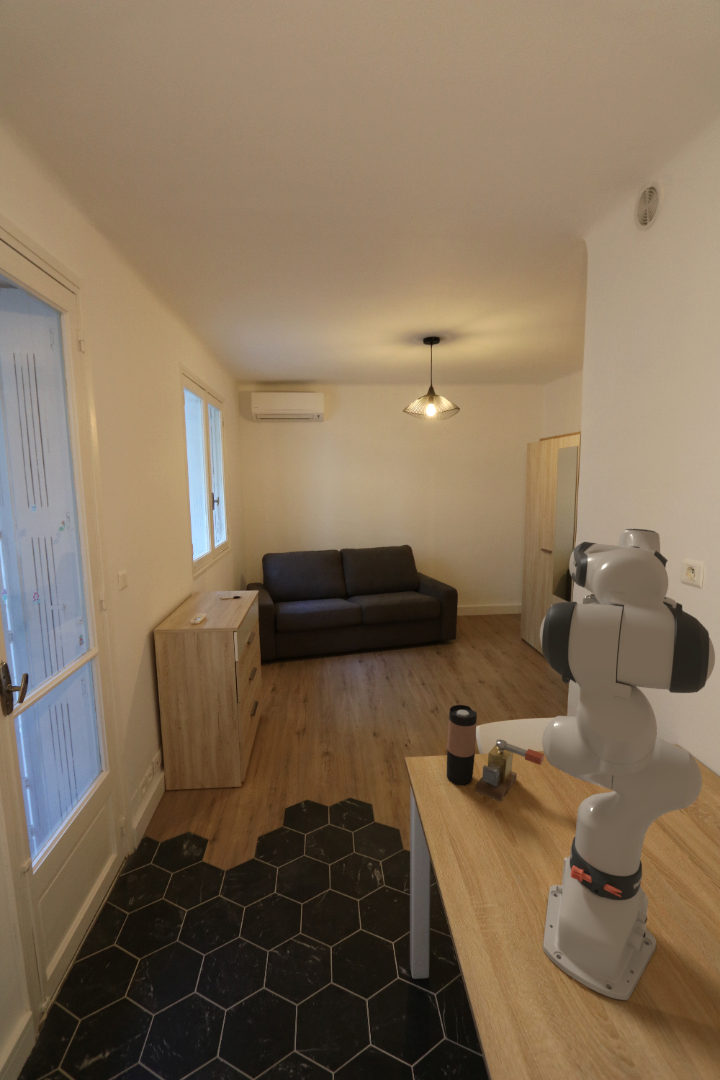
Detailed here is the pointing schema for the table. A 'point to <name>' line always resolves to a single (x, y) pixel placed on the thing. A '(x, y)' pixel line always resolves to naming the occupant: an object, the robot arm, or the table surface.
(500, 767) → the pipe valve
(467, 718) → the travel mug
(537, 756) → the valve lever
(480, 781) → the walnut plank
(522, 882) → the table surface
